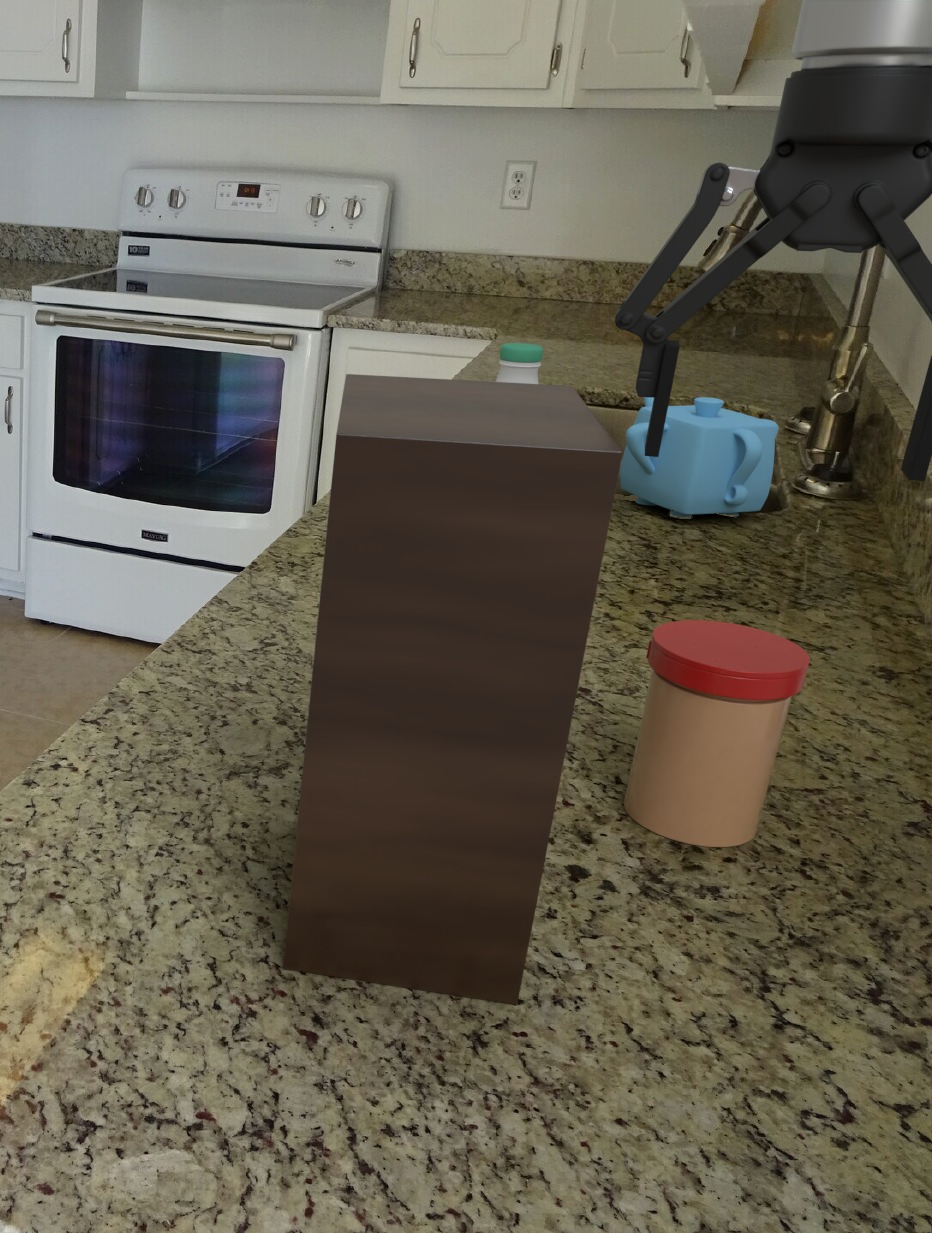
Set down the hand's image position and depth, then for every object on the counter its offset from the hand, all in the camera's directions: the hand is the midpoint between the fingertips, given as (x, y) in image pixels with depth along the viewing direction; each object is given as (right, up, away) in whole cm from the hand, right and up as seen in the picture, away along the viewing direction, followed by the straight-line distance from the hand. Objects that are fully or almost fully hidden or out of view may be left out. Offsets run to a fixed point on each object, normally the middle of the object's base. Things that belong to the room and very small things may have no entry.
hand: (777, 464), depth 73 cm
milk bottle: (+10, +5, +76) cm, 76 cm away
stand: (-23, -26, -1) cm, 34 cm away
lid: (0, -11, +5) cm, 12 cm away
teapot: (+35, +7, +81) cm, 88 cm away
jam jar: (0, -22, +9) cm, 24 cm away
